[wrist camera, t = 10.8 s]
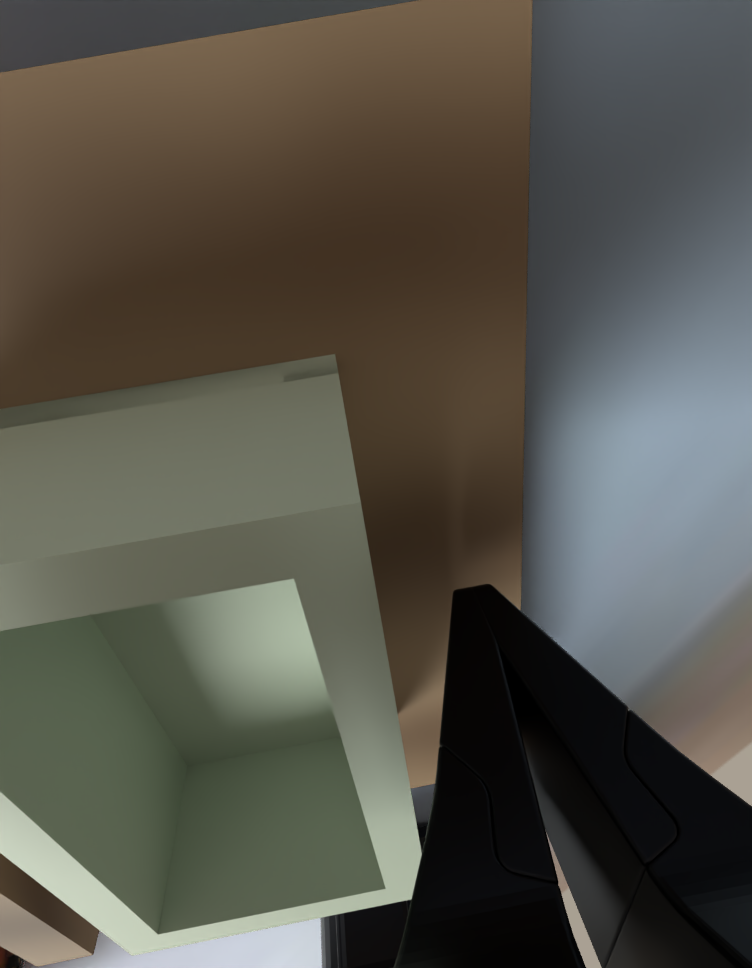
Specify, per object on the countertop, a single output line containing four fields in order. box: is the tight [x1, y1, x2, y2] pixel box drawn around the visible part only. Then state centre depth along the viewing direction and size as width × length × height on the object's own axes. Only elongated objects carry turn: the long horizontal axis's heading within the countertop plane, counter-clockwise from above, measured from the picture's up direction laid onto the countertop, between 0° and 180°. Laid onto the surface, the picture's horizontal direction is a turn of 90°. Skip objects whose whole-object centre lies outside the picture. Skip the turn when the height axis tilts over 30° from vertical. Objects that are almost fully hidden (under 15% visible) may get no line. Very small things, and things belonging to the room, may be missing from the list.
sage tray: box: [0, 354, 422, 956], centre depth 9 cm, size 10×6×4 cm, turn 7°
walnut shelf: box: [0, 0, 533, 967], centre depth 11 cm, size 18×14×6 cm
